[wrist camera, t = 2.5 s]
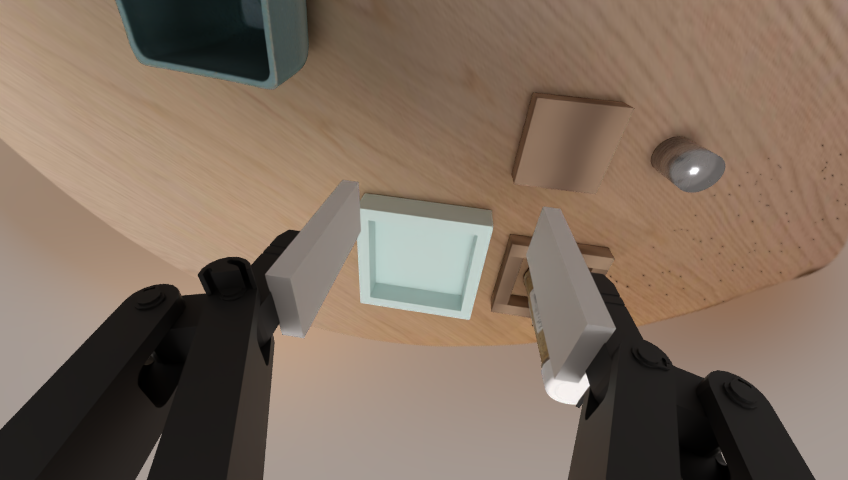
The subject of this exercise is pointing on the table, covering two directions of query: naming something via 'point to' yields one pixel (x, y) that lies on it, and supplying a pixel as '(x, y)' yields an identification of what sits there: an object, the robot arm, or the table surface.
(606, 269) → the socket block
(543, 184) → the square wooden coaster
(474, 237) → the tray
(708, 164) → the bench dog
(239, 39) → the flower pot
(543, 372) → the sprinkles bottle
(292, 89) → the table surface
